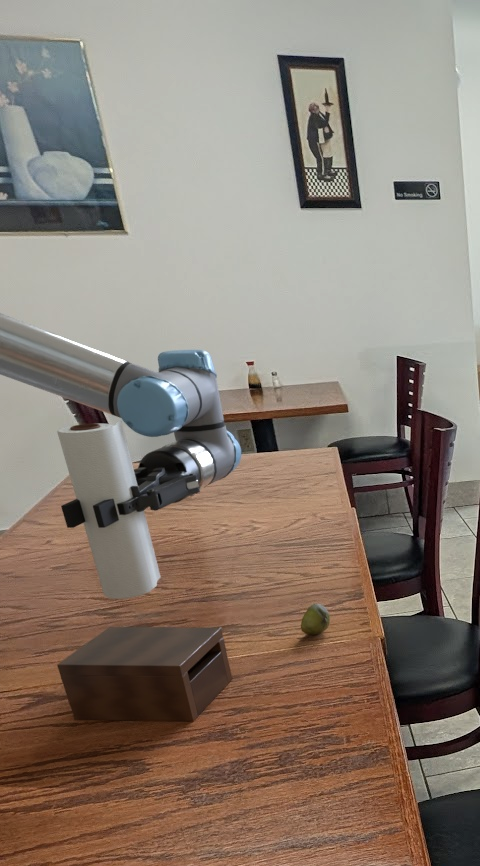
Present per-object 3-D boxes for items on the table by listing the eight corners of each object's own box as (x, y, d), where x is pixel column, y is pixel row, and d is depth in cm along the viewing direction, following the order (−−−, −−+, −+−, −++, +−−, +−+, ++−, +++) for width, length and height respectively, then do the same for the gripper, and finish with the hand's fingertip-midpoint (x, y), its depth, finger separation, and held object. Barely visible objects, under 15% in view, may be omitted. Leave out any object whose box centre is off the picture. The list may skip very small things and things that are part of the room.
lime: (302, 641, 128) (297, 611, 126) (304, 628, 132) (299, 600, 130) (331, 638, 129) (326, 608, 126) (332, 626, 133) (328, 597, 131)
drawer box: (74, 719, 107) (56, 664, 103) (124, 677, 117) (109, 626, 114) (193, 721, 106) (179, 665, 102) (232, 678, 116) (221, 627, 113)
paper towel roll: (106, 604, 104) (57, 432, 95) (102, 589, 109) (55, 424, 99) (167, 592, 108) (125, 425, 98) (161, 579, 112) (120, 418, 103)
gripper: (235, 496, 120) (156, 546, 99) (128, 497, 121) (27, 546, 100) (225, 445, 117) (141, 485, 96) (115, 446, 118) (7, 486, 97)
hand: (83, 516), depth 98 cm, fingers closed on paper towel roll, 3 cm apart
